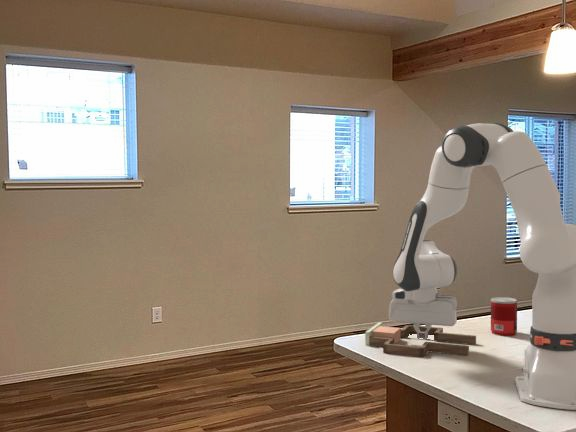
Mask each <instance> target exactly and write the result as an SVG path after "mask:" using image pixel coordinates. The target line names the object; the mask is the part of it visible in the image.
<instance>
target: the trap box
mask: <svg viewBox="0 0 576 432" xmlns="http://www.w3.org/2000/svg"><path fill="white" fill-rule="evenodd" d="M378 326H383V322H381V321H380V322H379V321H378V322H377V323H375V324H374V325H373V326H372V327H370V328H369V329H367V330H366V331H365V332H364V333H365V336H364V337H365V339H364V340H365V341H364V342H365V343H364V344H365V346H373V347H382V352H383V354H393V355H402V356H411V357H418V356H421V357H420V358H424V357H425V356H426V355H427V354H428V353H429V352H428V351H432V352H431V353H438V352H441V353H440V354H448V353H449V355H457V354H458V356H469V355H470V346H469V345H472V344H475V345H477V335H473V334H472V335H471V334H462V333H461V334H460V333H449V332H444V328H443V327H437V326H432V327H431V328H430V330H429V332H428V335H434V340H437V341H436V342H435V341H432V342H431V341H425V342H424V343H423V344H422V345H421V346H414V345H407V344H398V343H396V344H394V339H393V338H383V337H373V336H372V331H373V330H374V329H376V328H377V327H378ZM418 327H419V329H420V331H421V332H425V331H426V330H427V328H425V325H419V326H418ZM409 334H410V335H412V334H417V332H416V331H415V329H414V327H413V325H412V324H405V325H404V326H403V327H401V328H400V337H401V339H402V338H403V339H408V338H407V337H408V336H409ZM441 341H448V342H447V343H445V342H444V343H442V342H441ZM452 342H457V343H456V344H454V343H452ZM462 343H467V344H465V345H464V344H463V345H462ZM475 345H474V346H475ZM427 352H428V353H427ZM426 353H427V354H426Z"/></svg>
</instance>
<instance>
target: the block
mask: <svg viewBox="0 0 576 432" xmlns="http://www.w3.org/2000/svg"><path fill="white" fill-rule="evenodd" d="M400 329H401V327H392V326H383V325H382V326H378V327H377V328H376V329H374V330H373V331H372V336H373V337H383V338H393V339H394V344H398V343H397V342H398V341H399V342H400V341H401V339H402V338H401V337H400Z"/></svg>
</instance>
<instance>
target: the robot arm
mask: <svg viewBox="0 0 576 432" xmlns="http://www.w3.org/2000/svg"><path fill="white" fill-rule="evenodd" d="M490 165H491V166H492V167H493V168H494V169H495V171H496V172H497V173H498V176H499V178H500V181H501V183H502V186H503V188H504V190H505V193H506V195H507V197H508V200H509V203H510V205H511V207H512V210H513V212H514V216H515V219H516V224H517V228H518V235H519V239H520V246H519V257H520V260H521V262H522V264H523V265H524V267H525V268H526V269H527V270H529V271H531V272H533V273H536V274H538V276H537V277H538V278H537V281H536V285H535V288H534V290H533V293H532V297H531V298H532V299H531V300H532V301H531V302H532V305H531V306H532V307H531V308H532V310H531V311H532V312H531V314H532V316H531V317H532V319H531V320H532V321H531V324H532V325H531V326H530V329H529V330H530V331H529V345H527V346H526V347H525V348H524V351H523V352H524V353H523V355H524V357H523V358H524V359H523V362H524V363H523V367H522V368H521V372H522V374H523V375H518V376H515V379H514V382H515V386H516V388H517V392H518V397H519V400H520V401H521V402H523V403H526V404H528V405H529V404H530V405H534V406H538V407H544V408H550V409H559V410H560V409H561V410H570V411H571V410H573V411H576V225H575V224H573V223H572V224H571V223H565V220H564V216H563V212H562V207H561V192H560V191H559V189H558V187H557V185H556V182H555V179H554V178H553V176H552V174H551V172H550V170H549V167H548V165H547V163H546V161H545V158H544V157H543V155H542V153H541V151H540V150H539V148H538V147H537V145H536V144H535V143H534V141H533V139H532V138H531V137H530V136H529V135H528V134H527V133H526V132H523V131H519V130H517V131H514V130H513V128H511V127H510V126H508V125H506V124H505V123H498V122H495V123H493V122H492V123H481V122H478V123H471V124H467V125H459V126H456V127H454V128H452V129H450V130H449V131H448V132H447V133H445V135H444V137H443V138H442V141H441V145H440V146H439V147H438V148H437V149H436V151H435V153H434V156H433V159H432V162H431V166H430V171H429V174H428V175H429V177H428V180H427V181H428V183H427V186H426V187H427V188H426V190H425V192H424V194H423V196H422V197H421V199H420V200H419V201H418V202H417V203H415V205H414V206H413V208H412V210H411V214H410V216H409V219H408V222H407V226H406V229H405V232H404V236H403V239H402V244H401V247H400V249H399V254H398V256H397V259H395V262H394V264H393V268H392V277H393V281H394V282H395V284H396V285H397V286H398V287H399V288H398V289H395V290H393V292H392V293H391V298H392V300H391V301H390V303H389V307H388V319H389V320H390V322H393V323H402V324H403V323H404V324H413V327H414V329H415V331H416V332H417V338H423V339H427V338H428V332H429V330H430V328H431V327H433V326H441V327H442V326H443V327H454V326H455V325H456V324H457V321H458V320H457V318H458V317H457V306H458V300H457V298H456V297H455V296H452V294H445V293H444V294H442V293H438V288H442V287H448V286H451V285H452V284H453V283H454V282H455V280H456V278H457V274H458V265H457V262H456V261H455V259H454V258H453V257H452V256H451V255H450V254H446V253H444V252H442V250H440V249H439V248H437V246H436V243H435V241H433V240H430V239H425V240H424V238H425V236H426V234H427V232H428V230H429V229H430V228H431V227H432V226H434V225H435V224H437V223H438V222H441V221H443V220H444V219H447V218H449V217H453V216H454V215H457V214H458V213H459V212H460V211H461V210H462V209H463V208H464V207H465V206H466V202H467V201H468V196H469V190H470V184H471V176H472V172H473V170H474V169H475V168H476V167H486V166H487V167H488V166H490ZM421 325H424V326H425V328H427V330H426V331H425V332H421V331H420V329H419V327H418V326H421Z"/></svg>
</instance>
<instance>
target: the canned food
mask: <svg viewBox="0 0 576 432" xmlns="http://www.w3.org/2000/svg"><path fill="white" fill-rule="evenodd" d="M490 331H491V333H492V334H493V335H496V336H502V335H503V336H506V337H509V336H511V337H512V336H514V335H515V336H516V334H517V331H518V300H517V299H516V298H514V297H513V298H512V297H502V296H498V297H497V296H496V297H492V298H490ZM503 336H502V337H503Z"/></svg>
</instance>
